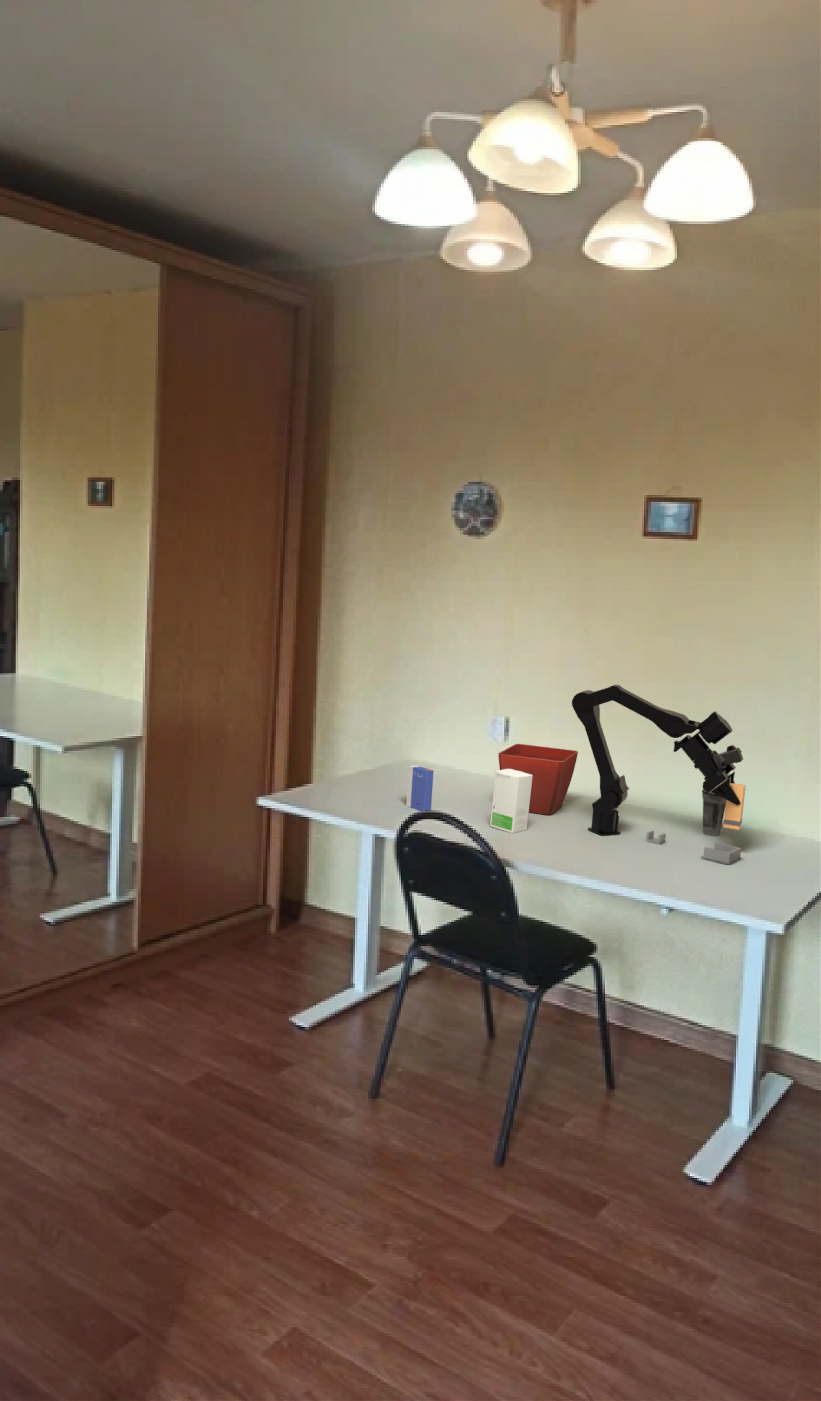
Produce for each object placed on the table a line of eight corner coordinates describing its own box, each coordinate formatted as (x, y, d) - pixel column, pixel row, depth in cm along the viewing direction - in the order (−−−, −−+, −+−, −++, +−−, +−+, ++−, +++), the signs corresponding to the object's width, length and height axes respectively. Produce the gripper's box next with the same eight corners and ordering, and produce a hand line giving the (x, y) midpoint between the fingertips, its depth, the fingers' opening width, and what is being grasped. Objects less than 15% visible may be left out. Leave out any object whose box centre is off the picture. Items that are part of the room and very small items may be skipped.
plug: (722, 827, 290) (727, 785, 288) (725, 823, 293) (729, 782, 292) (739, 829, 288) (743, 787, 287) (741, 826, 292) (745, 785, 290)
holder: (700, 858, 284) (701, 847, 284) (712, 853, 290) (713, 842, 289) (728, 865, 280) (729, 853, 279) (739, 859, 285) (741, 848, 285)
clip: (660, 844, 295) (660, 835, 295) (646, 841, 298) (647, 832, 297) (665, 842, 298) (665, 833, 297) (651, 839, 300) (652, 830, 300)
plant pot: (492, 810, 322) (497, 752, 320) (512, 797, 340) (516, 742, 337) (557, 820, 315) (562, 761, 313) (574, 806, 333) (579, 751, 330)
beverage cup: (725, 832, 313) (733, 762, 310) (724, 838, 306) (731, 766, 303) (698, 828, 315) (706, 758, 312) (696, 834, 308) (703, 763, 305)
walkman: (431, 810, 317) (433, 769, 315) (423, 811, 315) (426, 770, 313) (413, 804, 323) (416, 763, 321) (405, 805, 321) (408, 764, 319)
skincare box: (489, 827, 303) (493, 770, 300) (504, 823, 308) (508, 767, 305) (513, 833, 297) (518, 776, 295) (529, 830, 302) (533, 773, 300)
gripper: (720, 741, 280) (761, 790, 278) (730, 731, 297) (769, 778, 295) (685, 767, 285) (725, 816, 282) (697, 756, 302) (735, 802, 299)
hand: (740, 802), depth 289 cm, fingers closed on plug, 4 cm apart
